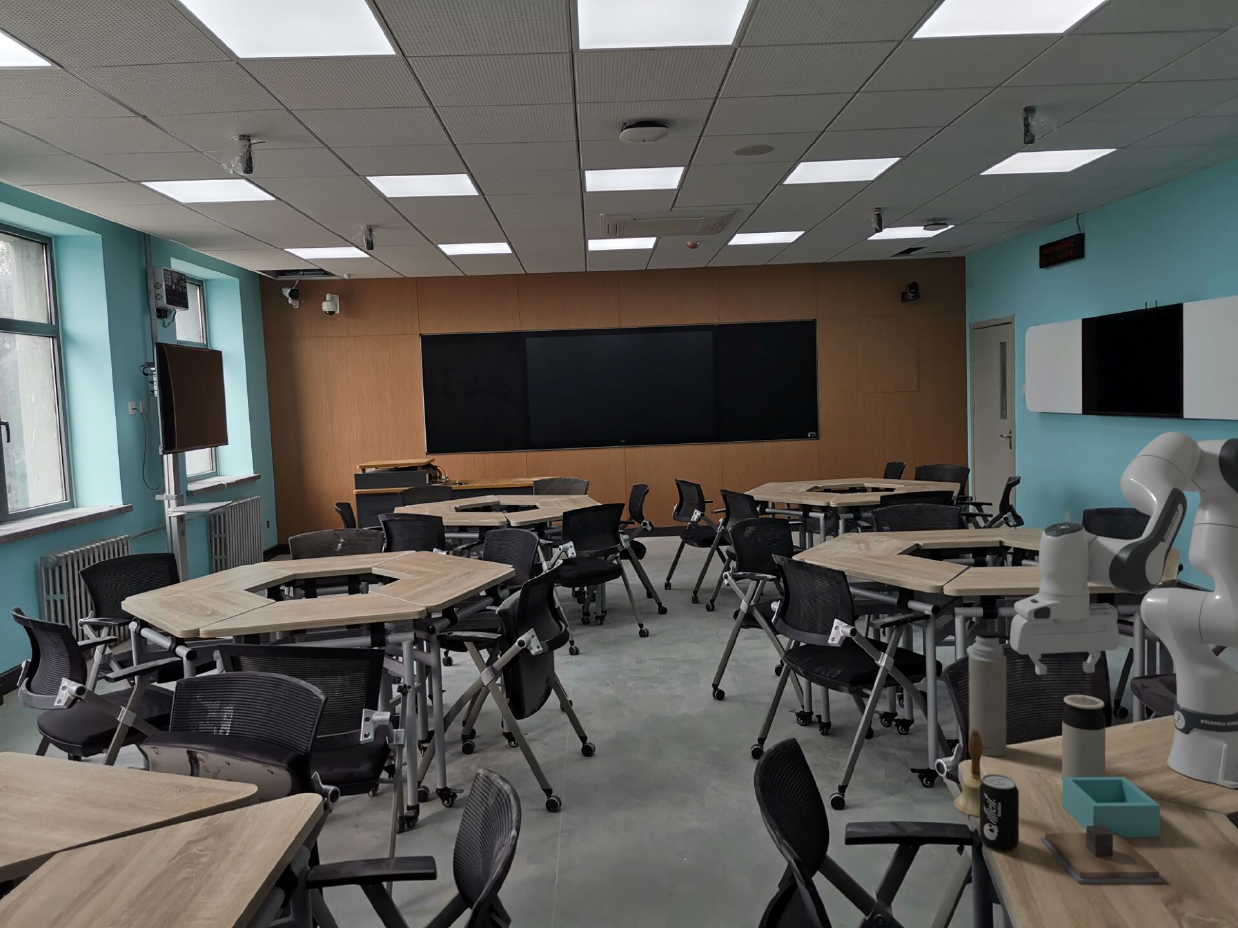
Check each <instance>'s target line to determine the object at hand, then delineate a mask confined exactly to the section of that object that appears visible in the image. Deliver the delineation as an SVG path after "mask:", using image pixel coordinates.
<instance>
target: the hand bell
mask: <svg viewBox="0 0 1238 928" xmlns="http://www.w3.org/2000/svg"><path fill="white" fill-rule="evenodd" d="M967 746H968V753H969V756H970V759H971V765H970V767H971V770H970V771H971V776H970V777H967V778H965V779H964V781H963V786H962V791H961V794H960V795H959V796H958V797H956V799H955V800H954V802H953V807H954V808H955V809H956V810H957V811H959V812H960V813H962V814H964V815H965V816H969V817H974V818H980V784H981V782H982V777H981V759H982V758H981V757H982V756H983V755H982V741H981V738H980V736H979V732H978V731H977V730H972V731H971V735H970V738H969V737H968V744H967Z"/></svg>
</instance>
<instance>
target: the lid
mask: <svg viewBox="0 0 1238 928" xmlns="http://www.w3.org/2000/svg"><path fill="white" fill-rule="evenodd" d="M1044 837H1045V839H1046V840H1047V841H1048V843H1049V844H1050V845H1051V846H1052V847H1053V848H1054V849H1055V850H1056V852H1057V853H1058V854H1059V855H1060V856H1061V857H1062V858H1063V859H1064V861H1065V862H1066V863H1067V864H1068V865H1069V866H1070V867H1071V868H1072V870H1073V871H1074V872H1075V873H1076V874H1077V875H1078V876H1079V877H1080V878H1159V876H1160V871H1159V870H1157V868H1155V867H1154V866H1153V865H1152V864H1151V863H1150V861H1148V860H1147V859H1146V858H1145V857H1143V855H1142V854H1140V853H1139V852H1138V850H1136V849H1135V848H1134V847H1133V846H1132V845H1131V844H1130V843H1129V842H1127V840H1125V838H1124V837H1121V836H1120V835H1119V834H1118V833H1111V832H1110V831H1109V830H1108V829H1107V828H1106V827H1105V826H1087V831H1086V832H1079V833H1078V832H1077V833H1076V832H1071V833H1070V832H1068V833H1063V832H1060V833H1057V832H1056V833H1044Z"/></svg>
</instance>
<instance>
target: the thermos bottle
mask: <svg viewBox="0 0 1238 928" xmlns="http://www.w3.org/2000/svg"><path fill="white" fill-rule="evenodd" d="M975 633H976V637H975V642H974V643H973V644H972V645H971V649H970V650H971V652H969V654H968V739H969V738H970V735H971V731H972V730H977V731H978V732H979V736H980V738H981V741H982V754H983V755H982V756H985V757H993V758H994V757H1001V756H1004V755H1006V754H1007V656H1006V655H1004V647H1003V646H1002V645H1001V644H1000V633H999V632H998V631H996V630H992V629H979V630H977V631H976V632H975Z"/></svg>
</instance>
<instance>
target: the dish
mask: <svg viewBox="0 0 1238 928" xmlns="http://www.w3.org/2000/svg"><path fill="white" fill-rule="evenodd" d="M1061 787H1062V793H1061V794H1062V796H1061V797H1062V799H1061V800H1062V802H1061V804H1062V808H1063V809H1064V810H1065V811H1066V812H1067V813H1068V814H1069V815H1070V816H1071V817H1072V818H1073V819H1074V820H1075V821H1076V822H1077V823H1078V824H1080V826H1081V827H1082V828H1083V829H1084V830H1085V831H1086V832H1087V826H1105V827H1106V828H1107V829H1108V830H1109V831H1110V832H1111V833H1118V834H1119V835H1120V836H1121V837H1122V838H1159V837H1160V835H1161V832H1160V829H1161V828H1160V827H1161V823H1160V822H1161V820H1160V819H1161V815H1160V814H1161V805H1160V804H1158V802H1156V801H1155V800H1154V799H1152V797H1150V796H1149V795H1148V794H1146V793H1145V792H1144V791H1143V790H1142V789H1140V788H1139V787H1137V786H1136V785H1135V784H1134V783H1132V782H1131V781H1130V780H1129V779H1128V778H1126V777H1125V776H1105V777H1063V780H1062V786H1061Z"/></svg>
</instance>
